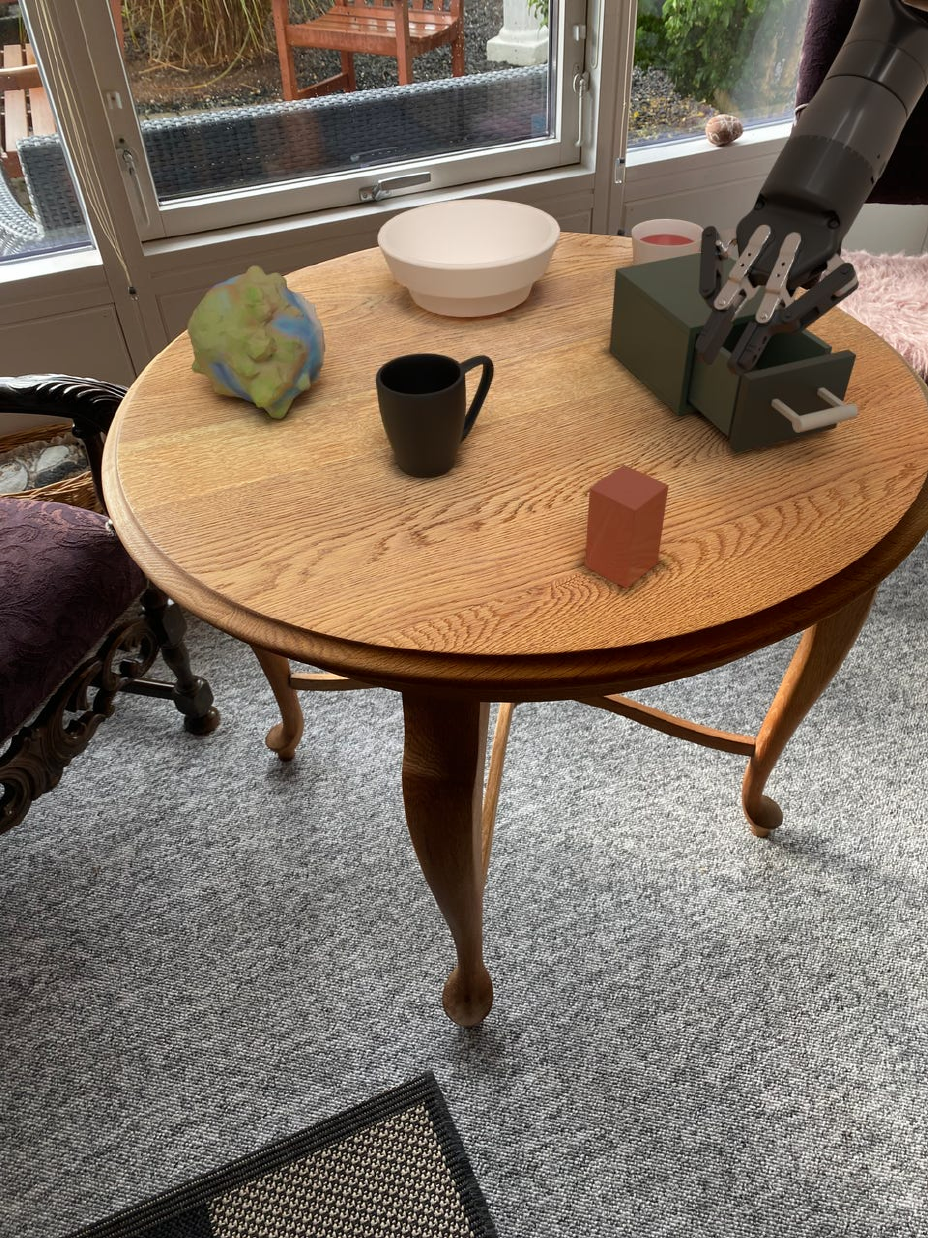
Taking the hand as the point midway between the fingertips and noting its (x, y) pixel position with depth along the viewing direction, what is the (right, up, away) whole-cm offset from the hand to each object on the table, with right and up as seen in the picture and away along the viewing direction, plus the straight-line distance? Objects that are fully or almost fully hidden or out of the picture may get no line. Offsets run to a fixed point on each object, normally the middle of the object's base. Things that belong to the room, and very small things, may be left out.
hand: (718, 365), depth 71 cm
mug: (-22, -4, +18) cm, 29 cm away
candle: (+5, +24, +45) cm, 51 cm away
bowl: (-19, +21, +44) cm, 53 cm away
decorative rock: (-42, +3, +27) cm, 50 cm away
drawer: (+9, 0, +18) cm, 21 cm away
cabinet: (+5, +7, +28) cm, 29 cm away
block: (-7, -16, +4) cm, 18 cm away
